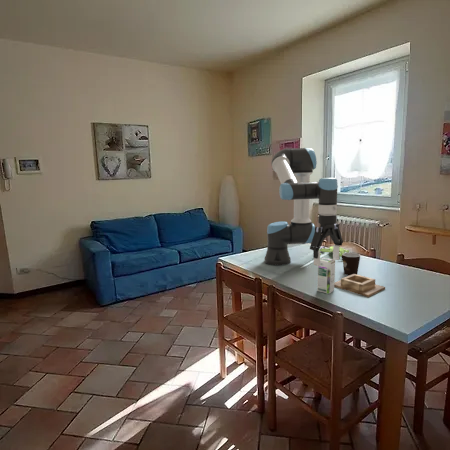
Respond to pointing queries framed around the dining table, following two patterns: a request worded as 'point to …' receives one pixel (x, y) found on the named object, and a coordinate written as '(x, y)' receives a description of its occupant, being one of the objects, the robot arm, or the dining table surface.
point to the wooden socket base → (359, 285)
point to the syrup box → (326, 275)
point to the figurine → (332, 250)
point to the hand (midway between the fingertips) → (326, 262)
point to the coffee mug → (350, 263)
